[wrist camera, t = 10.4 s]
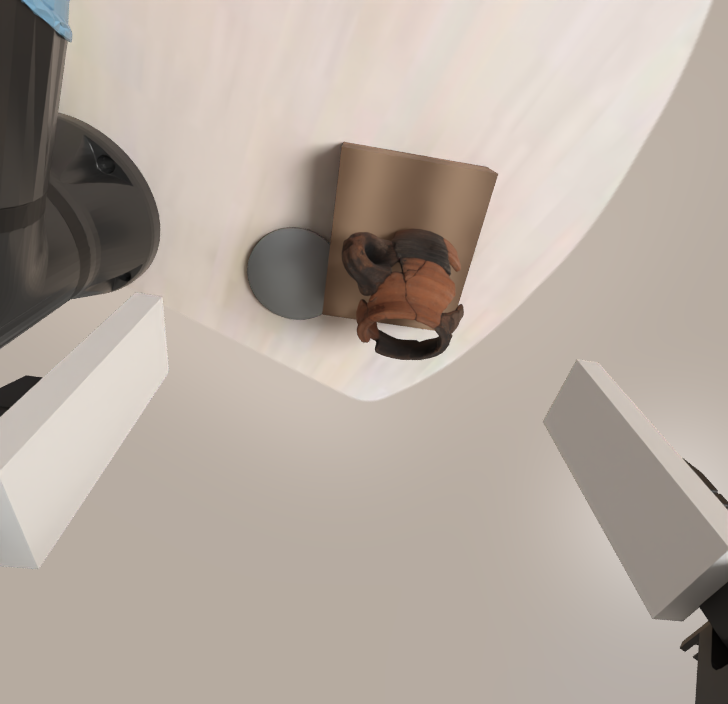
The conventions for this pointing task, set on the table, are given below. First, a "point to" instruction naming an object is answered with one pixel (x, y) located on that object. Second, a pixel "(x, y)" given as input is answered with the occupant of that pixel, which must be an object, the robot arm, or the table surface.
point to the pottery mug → (404, 288)
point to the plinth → (403, 213)
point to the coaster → (290, 272)
